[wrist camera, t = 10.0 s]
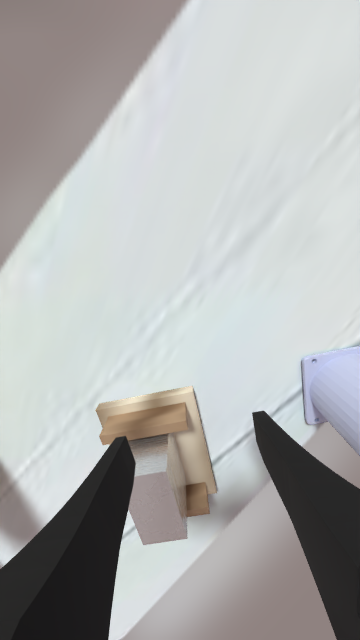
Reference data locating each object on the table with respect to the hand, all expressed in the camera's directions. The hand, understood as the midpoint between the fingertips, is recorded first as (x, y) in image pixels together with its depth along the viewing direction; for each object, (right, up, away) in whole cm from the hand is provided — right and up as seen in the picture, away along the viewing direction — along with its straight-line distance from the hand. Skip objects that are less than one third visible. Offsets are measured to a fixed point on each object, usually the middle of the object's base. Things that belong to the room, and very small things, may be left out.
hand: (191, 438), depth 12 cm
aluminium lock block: (-3, -8, +11) cm, 14 cm away
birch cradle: (-3, -8, +12) cm, 15 cm away
